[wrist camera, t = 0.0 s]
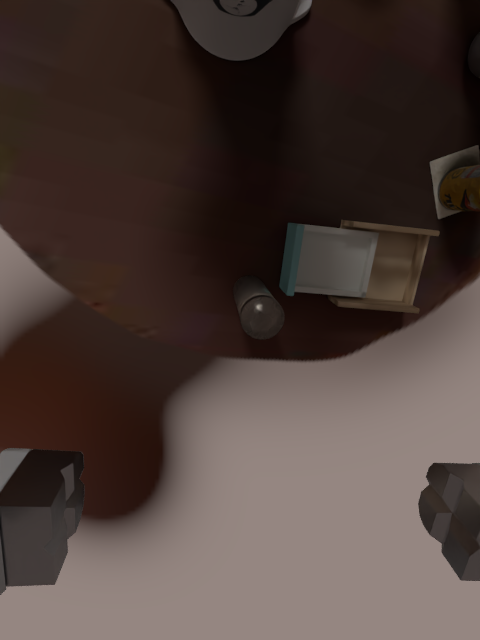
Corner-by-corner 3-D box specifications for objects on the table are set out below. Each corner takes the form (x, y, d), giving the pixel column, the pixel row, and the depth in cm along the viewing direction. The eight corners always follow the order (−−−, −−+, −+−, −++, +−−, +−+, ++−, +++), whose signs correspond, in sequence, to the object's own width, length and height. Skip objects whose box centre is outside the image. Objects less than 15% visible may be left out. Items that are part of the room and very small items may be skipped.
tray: (288, 222, 54) (297, 224, 49) (371, 231, 55) (388, 234, 50) (279, 286, 57) (286, 295, 51) (358, 293, 58) (373, 302, 53)
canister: (234, 273, 56) (243, 295, 42) (267, 276, 56) (287, 299, 43) (230, 306, 57) (238, 337, 44) (263, 308, 58) (281, 340, 44)
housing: (341, 219, 55) (354, 221, 50) (420, 228, 56) (439, 231, 51) (327, 298, 58) (338, 306, 53) (401, 304, 60) (418, 313, 55)
